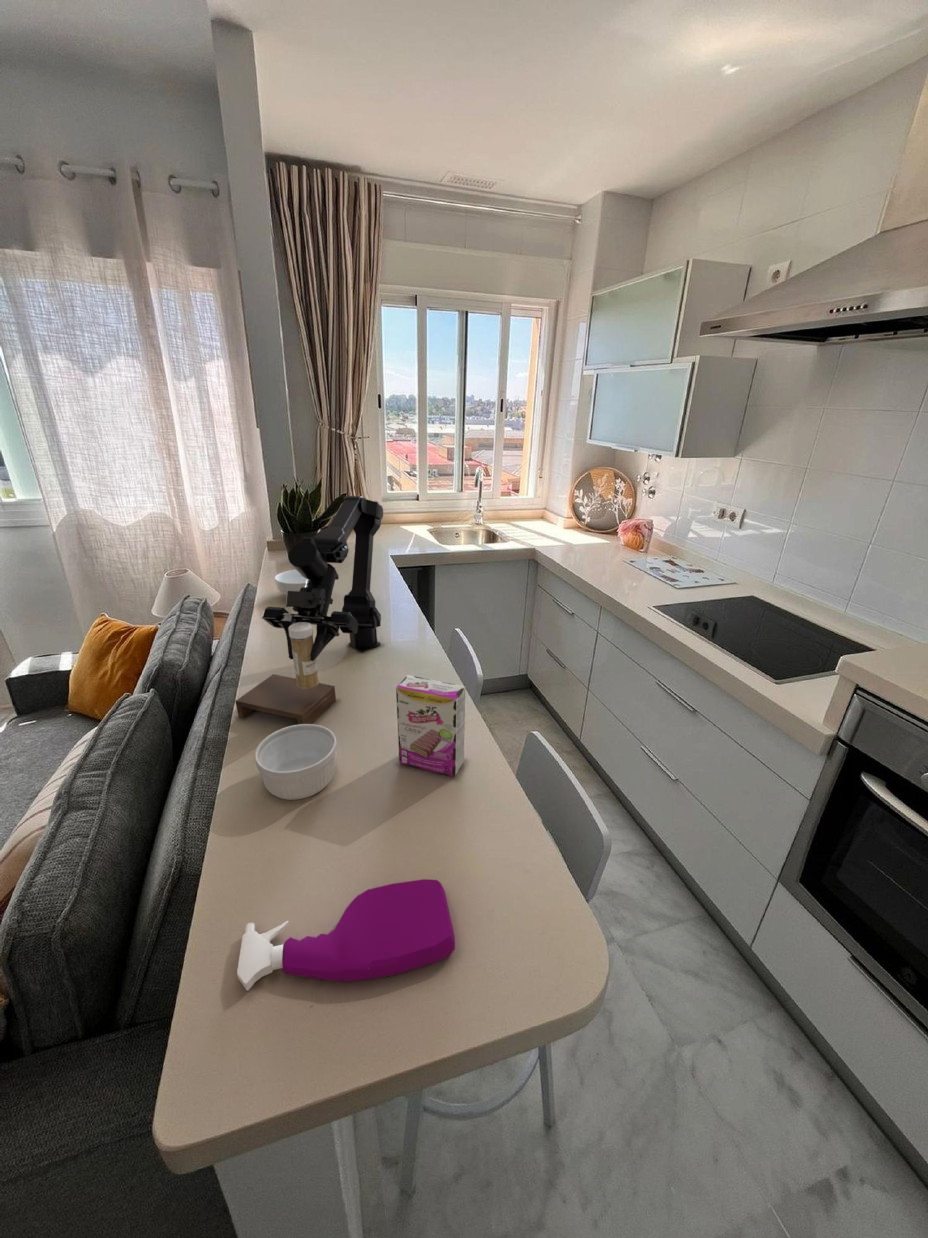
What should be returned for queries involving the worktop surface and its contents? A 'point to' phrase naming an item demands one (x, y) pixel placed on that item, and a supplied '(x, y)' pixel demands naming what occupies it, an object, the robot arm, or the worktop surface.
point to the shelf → (287, 699)
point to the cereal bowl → (289, 581)
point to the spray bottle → (361, 938)
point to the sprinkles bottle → (303, 655)
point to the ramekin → (297, 760)
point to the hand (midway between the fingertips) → (301, 659)
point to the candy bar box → (431, 724)
